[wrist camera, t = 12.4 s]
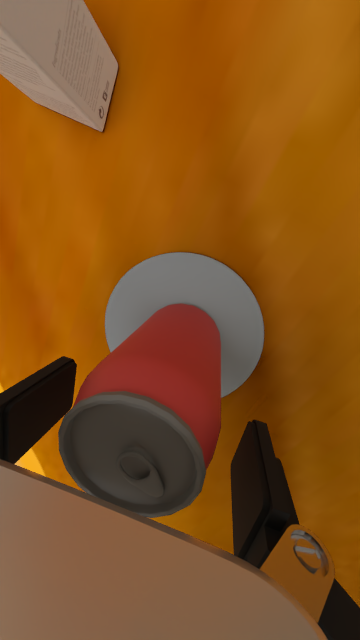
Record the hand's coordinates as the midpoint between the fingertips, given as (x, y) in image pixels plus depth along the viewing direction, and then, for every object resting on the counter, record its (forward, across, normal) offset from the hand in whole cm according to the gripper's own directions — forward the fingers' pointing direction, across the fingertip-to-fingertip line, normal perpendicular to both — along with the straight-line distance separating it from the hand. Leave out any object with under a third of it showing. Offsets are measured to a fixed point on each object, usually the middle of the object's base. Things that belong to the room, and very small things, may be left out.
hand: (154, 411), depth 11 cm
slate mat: (+10, +1, -1) cm, 10 cm away
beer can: (+9, 0, -1) cm, 9 cm away
